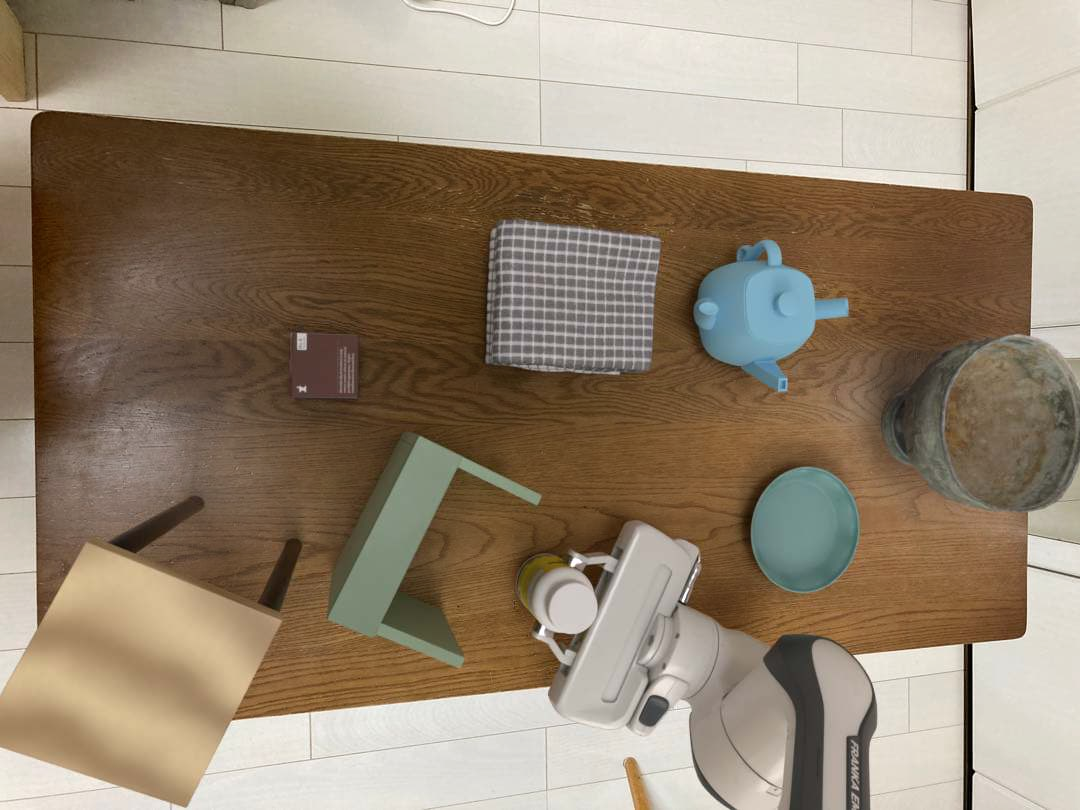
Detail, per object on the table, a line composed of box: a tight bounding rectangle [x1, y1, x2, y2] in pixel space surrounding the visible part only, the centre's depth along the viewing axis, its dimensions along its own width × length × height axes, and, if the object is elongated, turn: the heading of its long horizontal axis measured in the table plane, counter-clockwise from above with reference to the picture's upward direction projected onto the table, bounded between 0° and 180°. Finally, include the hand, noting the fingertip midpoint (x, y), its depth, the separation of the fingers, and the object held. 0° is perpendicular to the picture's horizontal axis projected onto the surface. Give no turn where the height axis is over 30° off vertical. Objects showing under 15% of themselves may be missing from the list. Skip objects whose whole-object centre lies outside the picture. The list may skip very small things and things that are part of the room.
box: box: [289, 331, 360, 402], centre depth 68 cm, size 6×6×7 cm
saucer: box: [750, 466, 861, 594], centre depth 84 cm, size 15×15×3 cm
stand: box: [0, 537, 285, 809], centre depth 42 cm, size 12×12×2 cm
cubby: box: [326, 430, 543, 669], centre depth 66 cm, size 16×12×16 cm
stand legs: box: [106, 495, 303, 612], centre depth 56 cm, size 12×12×26 cm
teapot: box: [693, 239, 850, 392], centre depth 78 cm, size 15×14×11 cm
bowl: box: [881, 333, 1080, 513], centre depth 82 cm, size 20×19×15 cm
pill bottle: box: [515, 553, 598, 635], centre depth 70 cm, size 6×6×11 cm
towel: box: [484, 218, 662, 376], centre depth 74 cm, size 15×18×8 cm
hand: (550, 592), depth 69 cm, fingers closed on pill bottle, 6 cm apart
